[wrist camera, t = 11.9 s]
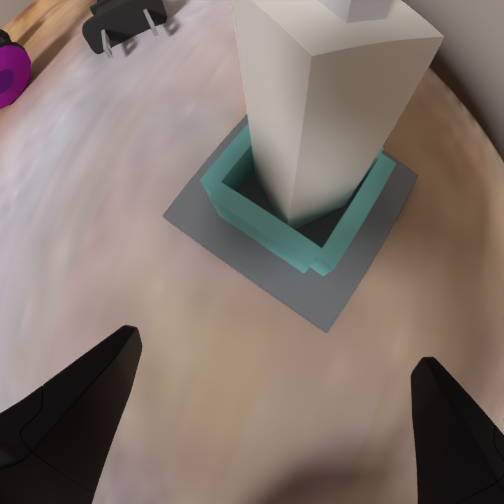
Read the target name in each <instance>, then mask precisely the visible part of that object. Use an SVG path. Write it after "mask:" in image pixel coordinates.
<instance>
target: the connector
mask: <svg viewBox="0 0 504 504" xmlns="http://www.w3.org/2000/svg"><path fill="white" fill-rule="evenodd" d="M230 1H231V7H232V14H233V20H234V27H235V34H236V40H237V47H238V54H239V60H240V67H241V74H242V81H243V88H244V95H245V102H246V109H247V116H248V123H249V131H250V138H251V145H252V153H253V160H254V168H255V175H256V179H257V181H258V182H259V184H260V186H261V188H262V190H263V192H264V194H265V195H266V197H267V199H268V201H269V203H270V205H271V207H272V209H273V210H274V212H275V214H276V216H277V218H278V219H279V220H281V221H282V222H284V223H285V224H287V225H288V226H290V227H291V228H293V229H294V230H296V229H298V228H300V227H302V226H304V225H306V224H308V223H310V222H312V221H314V220H316V219H319V218H321V217H323V216H325V215H327V214H329V213H331V212H333V211H335V210H337V209H340V208H342V207H344V206H345V205H346V203H347V202H348V200H349V199H350V197H351V195H352V194H353V192H354V191H355V189H356V188H357V186H358V185H359V183H360V181H361V180H362V178H363V177H364V175H365V174H366V172H367V170H368V169H369V167H370V166H371V164H372V162H373V161H374V159H375V158H376V156H377V154H378V153H379V151H380V150H381V148H382V146H383V145H384V143H385V141H386V140H387V138H388V136H389V135H390V133H391V131H392V130H393V128H394V126H395V125H396V123H397V121H398V120H399V118H400V116H401V115H402V113H403V111H404V109H405V108H406V106H407V104H408V103H409V101H410V99H411V97H412V96H413V94H414V92H415V90H416V88H417V87H418V85H419V83H420V81H421V80H422V78H423V76H424V74H425V72H426V70H427V69H428V67H429V65H430V63H431V61H432V59H433V57H434V55H435V54H436V52H437V50H438V48H439V46H440V44H441V42H442V40H443V38H444V36H443V35H442V34H441V33H440V32H438V31H437V30H436V29H435V28H434V27H433V26H432V25H431V24H430V23H428V22H427V21H426V20H425V19H424V18H422V17H421V16H420V15H419V14H418V13H416V12H415V11H414V10H413V9H412V8H410V7H409V6H408V5H406V4H405V3H404V2H402V1H401V0H230Z"/></svg>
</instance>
